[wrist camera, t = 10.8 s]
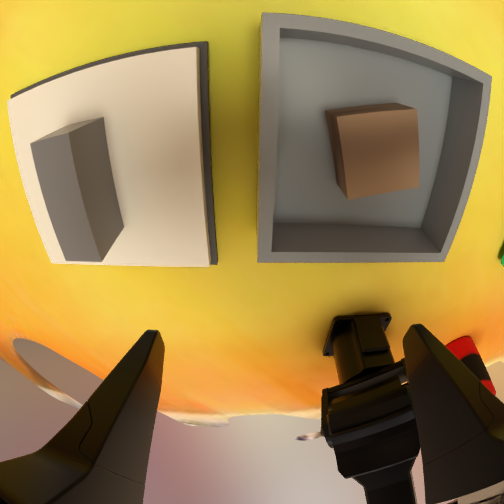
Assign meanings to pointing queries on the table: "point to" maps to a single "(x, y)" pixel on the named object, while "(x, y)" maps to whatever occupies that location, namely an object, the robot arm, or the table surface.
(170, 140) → the lid
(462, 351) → the soda can
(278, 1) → the table surface
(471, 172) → the storage box
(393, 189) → the walnut block
